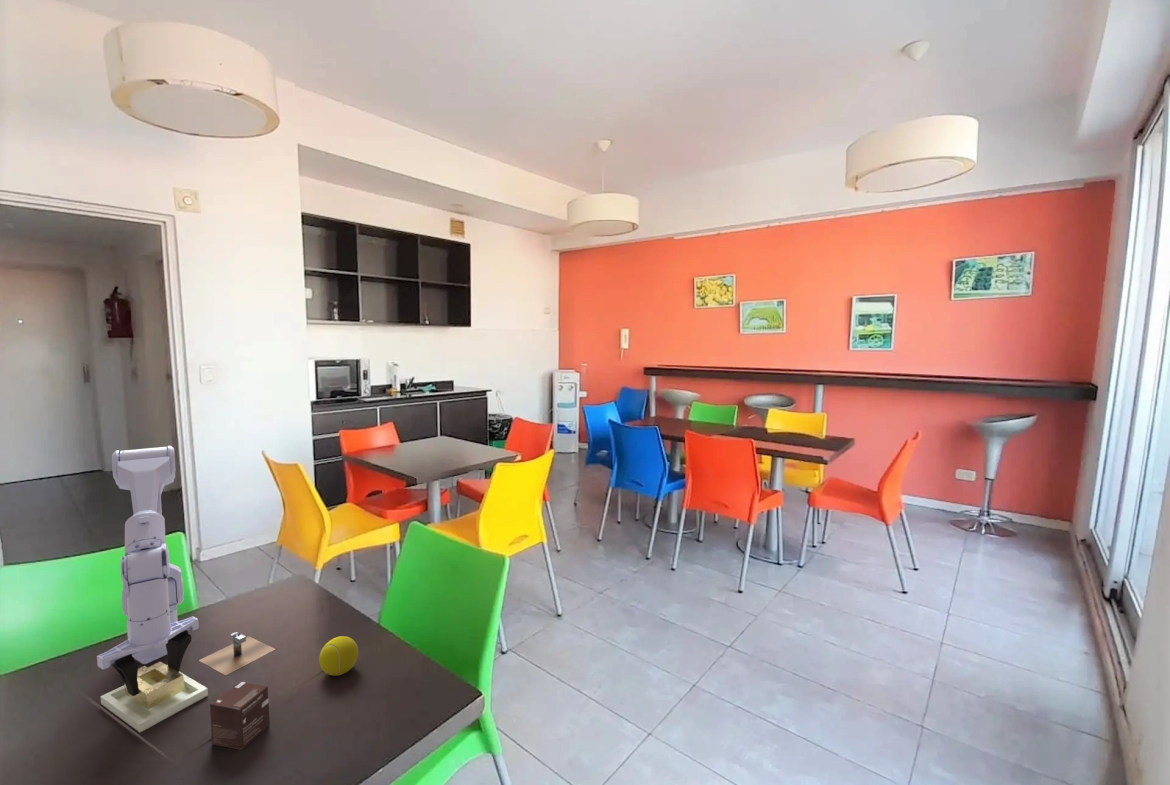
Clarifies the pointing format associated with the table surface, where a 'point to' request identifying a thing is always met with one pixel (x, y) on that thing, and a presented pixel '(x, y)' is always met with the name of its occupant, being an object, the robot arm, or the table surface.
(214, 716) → the box
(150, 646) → the robot arm
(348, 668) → the tennis ball
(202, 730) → the table surface
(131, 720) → the tray
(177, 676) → the gold hollow block
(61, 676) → the table surface
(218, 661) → the stake base
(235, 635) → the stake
